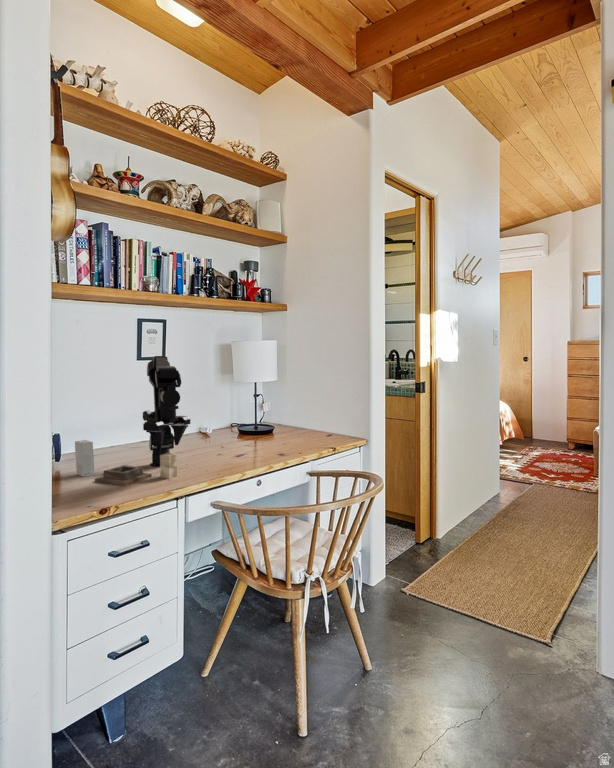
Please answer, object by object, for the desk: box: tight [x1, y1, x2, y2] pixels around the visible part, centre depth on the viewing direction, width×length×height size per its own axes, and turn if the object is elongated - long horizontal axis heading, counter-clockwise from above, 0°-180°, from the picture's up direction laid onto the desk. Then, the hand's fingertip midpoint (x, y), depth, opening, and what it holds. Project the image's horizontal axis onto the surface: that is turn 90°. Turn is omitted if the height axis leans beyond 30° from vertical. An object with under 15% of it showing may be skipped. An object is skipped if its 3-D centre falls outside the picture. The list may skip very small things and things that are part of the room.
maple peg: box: [159, 452, 178, 480], centre depth 174 cm, size 4×4×8 cm
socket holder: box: [94, 464, 153, 487], centre depth 171 cm, size 13×13×4 cm
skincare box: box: [74, 439, 96, 478], centre depth 176 cm, size 6×4×12 cm
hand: (168, 447), depth 174 cm, fingers open, 9 cm apart
